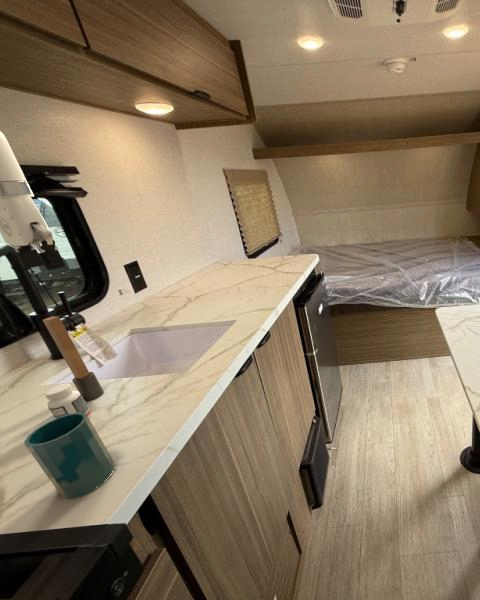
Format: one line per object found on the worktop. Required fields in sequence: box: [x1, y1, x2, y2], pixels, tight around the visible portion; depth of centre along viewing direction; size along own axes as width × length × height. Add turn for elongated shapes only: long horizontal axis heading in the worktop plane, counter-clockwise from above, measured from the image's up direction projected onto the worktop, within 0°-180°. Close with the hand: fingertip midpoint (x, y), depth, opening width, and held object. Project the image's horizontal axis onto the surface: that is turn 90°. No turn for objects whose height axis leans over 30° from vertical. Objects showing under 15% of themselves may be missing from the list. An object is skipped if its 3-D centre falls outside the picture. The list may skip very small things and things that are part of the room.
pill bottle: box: [44, 382, 92, 419], centre depth 71 cm, size 5×5×9 cm
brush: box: [42, 316, 105, 402], centre depth 76 cm, size 4×4×22 cm
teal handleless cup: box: [24, 412, 116, 500], centre depth 55 cm, size 7×7×12 cm
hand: (45, 267), depth 75 cm, fingers open, 9 cm apart
